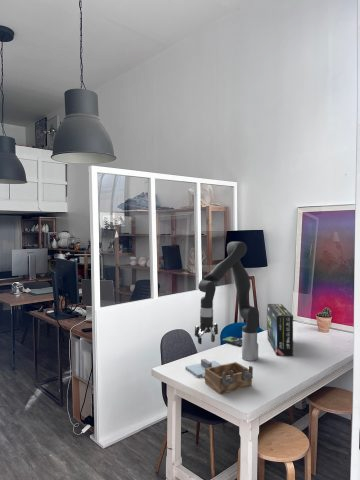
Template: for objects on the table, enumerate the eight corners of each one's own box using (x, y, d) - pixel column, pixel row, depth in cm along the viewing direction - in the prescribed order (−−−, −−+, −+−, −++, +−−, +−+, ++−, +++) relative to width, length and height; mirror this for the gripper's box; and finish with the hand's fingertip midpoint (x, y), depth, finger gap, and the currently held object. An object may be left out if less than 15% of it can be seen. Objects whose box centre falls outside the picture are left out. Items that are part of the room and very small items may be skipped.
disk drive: (247, 344, 258) (230, 339, 268) (247, 340, 258) (230, 335, 268) (238, 347, 250) (221, 342, 261) (238, 343, 250) (221, 338, 261)
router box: (266, 339, 268) (266, 303, 267) (281, 339, 267) (281, 303, 266) (276, 356, 232) (276, 315, 231) (293, 356, 232) (294, 315, 231)
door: (214, 363, 220) (214, 354, 220) (229, 372, 206) (229, 363, 206) (185, 369, 211) (185, 360, 211) (199, 379, 197) (199, 369, 197)
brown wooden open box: (235, 376, 201) (235, 356, 200) (254, 387, 186) (254, 366, 186) (205, 383, 191) (205, 362, 191) (222, 395, 177) (222, 373, 177)
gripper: (213, 312, 215) (213, 339, 215) (192, 314, 208) (192, 342, 209) (220, 315, 208) (220, 343, 209) (199, 317, 202) (199, 346, 202)
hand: (206, 342), depth 209 cm, fingers open, 8 cm apart
